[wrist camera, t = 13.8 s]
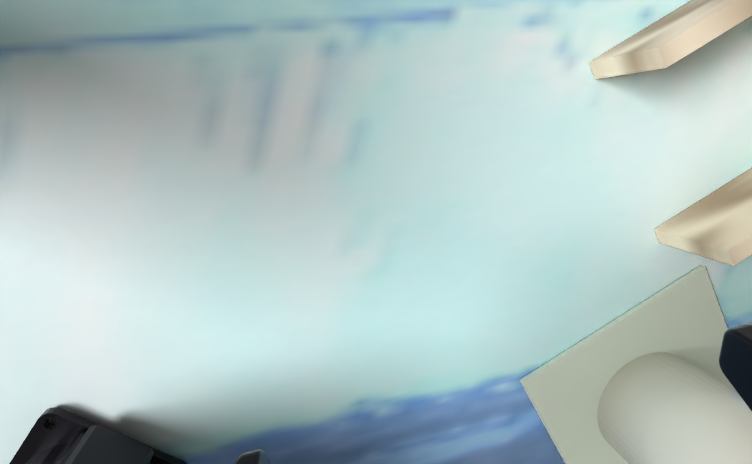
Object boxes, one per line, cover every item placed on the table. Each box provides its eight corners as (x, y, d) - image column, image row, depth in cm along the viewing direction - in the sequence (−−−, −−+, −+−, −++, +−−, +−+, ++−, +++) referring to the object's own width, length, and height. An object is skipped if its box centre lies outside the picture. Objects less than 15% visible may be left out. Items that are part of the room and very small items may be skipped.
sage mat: (597, 522, 26) (600, 526, 26) (518, 379, 23) (521, 383, 23) (756, 418, 26) (761, 422, 26) (700, 265, 23) (705, 267, 23)
